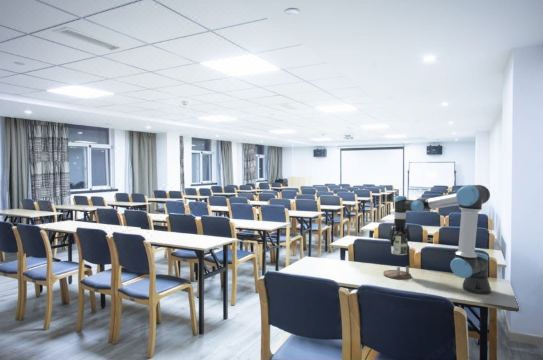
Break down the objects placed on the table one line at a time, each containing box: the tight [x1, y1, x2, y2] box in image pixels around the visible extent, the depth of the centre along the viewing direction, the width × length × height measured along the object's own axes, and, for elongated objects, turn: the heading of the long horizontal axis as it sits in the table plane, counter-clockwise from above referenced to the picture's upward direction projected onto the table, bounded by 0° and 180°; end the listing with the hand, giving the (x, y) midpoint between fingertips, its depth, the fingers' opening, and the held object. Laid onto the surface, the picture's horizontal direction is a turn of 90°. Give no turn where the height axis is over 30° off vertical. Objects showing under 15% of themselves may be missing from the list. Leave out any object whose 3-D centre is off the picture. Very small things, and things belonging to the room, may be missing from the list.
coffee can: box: [391, 232, 408, 256], centre depth 252 cm, size 10×10×14 cm
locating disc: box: [382, 265, 412, 281], centre depth 253 cm, size 18×18×8 cm
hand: (399, 250), depth 253 cm, fingers closed on coffee can, 10 cm apart
